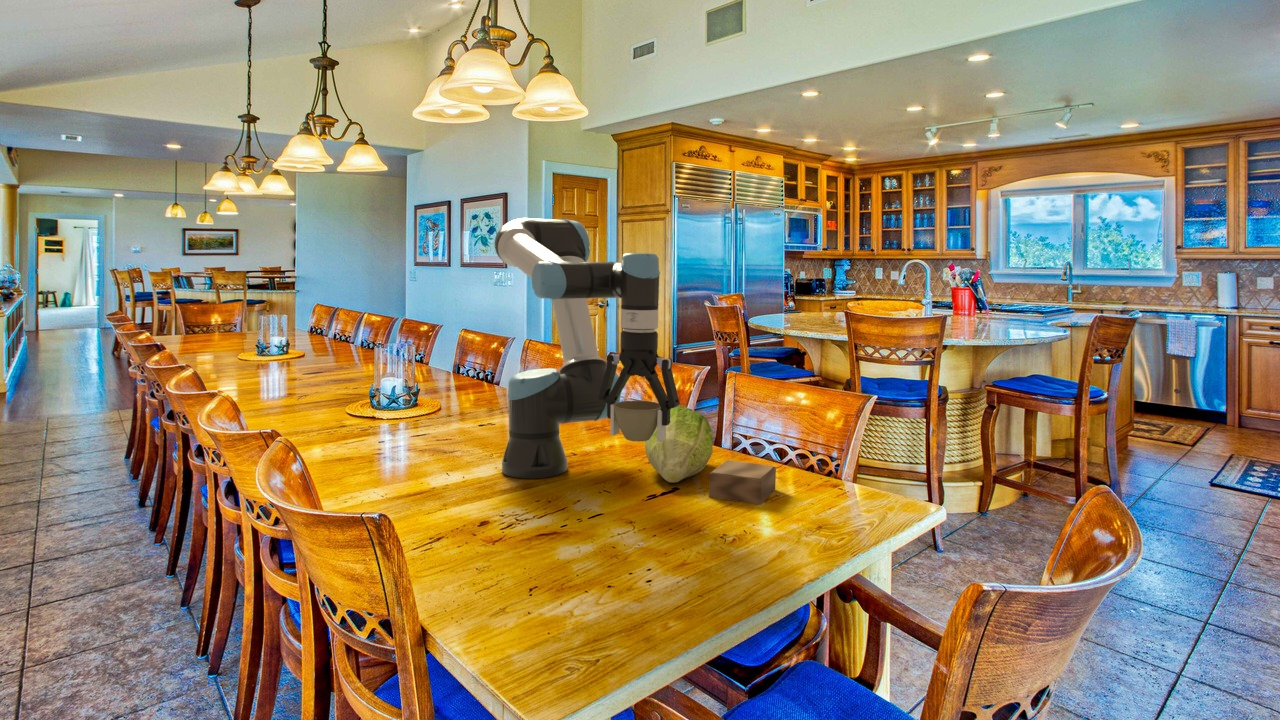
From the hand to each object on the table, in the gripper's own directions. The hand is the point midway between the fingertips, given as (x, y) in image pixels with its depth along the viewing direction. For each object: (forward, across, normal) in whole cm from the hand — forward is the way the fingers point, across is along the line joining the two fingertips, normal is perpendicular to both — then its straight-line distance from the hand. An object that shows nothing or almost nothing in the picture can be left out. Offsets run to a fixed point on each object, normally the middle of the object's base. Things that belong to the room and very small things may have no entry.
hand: (637, 437), depth 144 cm
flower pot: (+1, 0, 0) cm, 1 cm away
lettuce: (+13, +2, +18) cm, 22 cm away
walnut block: (+12, +20, +10) cm, 25 cm away
